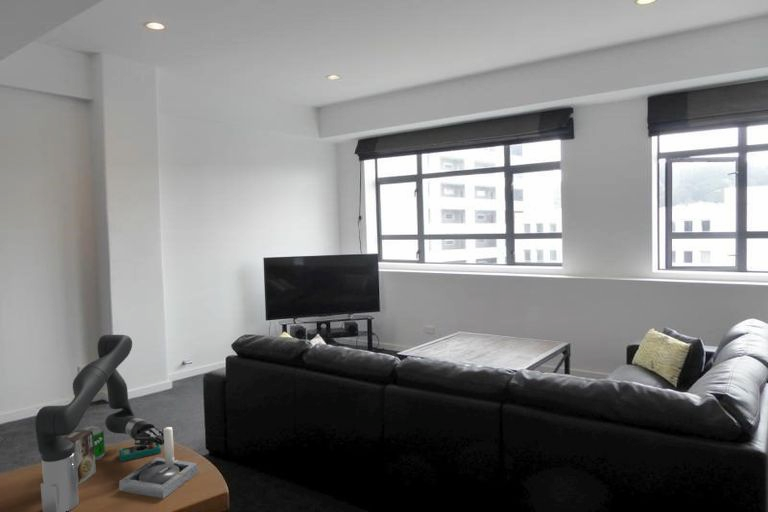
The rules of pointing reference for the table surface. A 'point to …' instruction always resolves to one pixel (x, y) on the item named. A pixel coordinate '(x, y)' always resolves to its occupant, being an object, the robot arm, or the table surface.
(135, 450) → the digital multimeter
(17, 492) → the table surface
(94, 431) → the soda can
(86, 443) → the coffee box
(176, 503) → the table surface
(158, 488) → the grey square frame
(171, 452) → the lever
